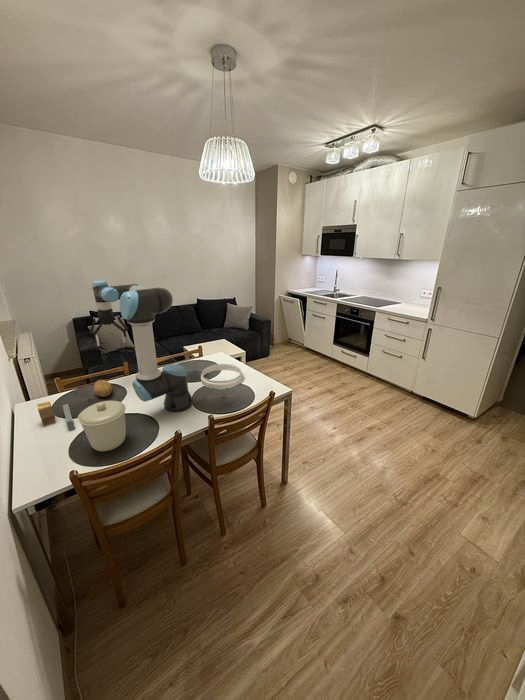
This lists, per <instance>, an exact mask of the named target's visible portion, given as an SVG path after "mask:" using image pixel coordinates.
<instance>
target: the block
mask: <svg viewBox="0 0 525 700" xmlns="http://www.w3.org/2000/svg"><path fill="white" fill-rule="evenodd" d="M36 406H37V411H38V414H39V418H40V420H41V422H42V423H41V424H42V425H43V427H47V426H49V425H53V424H56V423H57V421H56V416H55V413H54V410H53V407H52V404H51V401H45V402H42V403H37V404H36Z"/></svg>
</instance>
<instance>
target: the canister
mask: <svg viewBox="0 0 525 700" xmlns="http://www.w3.org/2000/svg"><path fill="white" fill-rule="evenodd" d="M126 409H127V407H126V405H125V403H123V402H121V401H118V400H104V401H100V402H99V401H98V402H96V403H93V404H91V405H89V406H88V407H86V408H84V409H83V410H82V411H81V412H80V413H79V414H78V416H77V422H78V423H79V424H80V425H81V426H82V429H83V431H84V433H85V436H86V438H87V440H88V442H89V444H90V446H91V447H92V448H93V449H94V450H95V451H98V452H107V451H108V452H109V451H112V450H115V449H116V448H118V447H120V446H121V445H122V444H123V443H124V441H125V439H126V434H127V429H126V411H127V410H126Z"/></svg>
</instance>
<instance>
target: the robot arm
mask: <svg viewBox="0 0 525 700" xmlns="http://www.w3.org/2000/svg"><path fill="white" fill-rule="evenodd" d="M91 286H92V290H93V295H94V296H93V297H94V300H95V305H96V309H97V316H98V317H93V318H92V325H91V327H90V330H89V333H88V334H89V335H90V336H93V340H94V341H96V344H97V347H99V346H100V341H99V336H98V334H97V333H99V331H100V330H101V328H102V327H103V326H108V325H113V326H115V327H116V328H117V329H119V330H120V331H121V337H122V341H123V344H125V343H126V340H125V338H126V337H127V333H126V332H128V331H129V328H128V326H127V325H126V324H125V322H124V321H123V320H122V319H121V317H122V318H123V319H124V320H126V322H127V323H128V324H129V325H131V331H132V337H133V343H134V350H135V356H136V362H137V369H138V372H137V373H135V374H136V375H135V380H133V381H132V383H131V384H132V388H133V390H134V392H135V394H136V396H137V398H138V399H139V400H141V402H143V403H144V402H149V401H151V400H152V401H153V400H154V399H157V398H159V397H162V396H164V395H165V396H164V402H163V407H164V410H165V411H167V412H168V413H170V412H171V413H181V412H183V411H187V410H188V409H190V408H191V407H192V406H193V402H194V401H193V397H192V395H191V394H190V391H189V386H188V385H189V384H188V373H187V368H186V367H185V366H184V365H180V364H177V363H176V364H167V365H164V366H163V367H162V371H161V370H160V369H158V361H157V354H156V353H157V352H156V345H155V337H154V336H155V335H154V331H153V330H154V329H153V323H154V322H155V320H156V315H159V314H163V313H165V312H167V311H168V310H169V309H171V307H172V305H173V301H174V300H173V298H174V297H173V294H172V293H171V292H170V291H169V290H168V289H166V288H163V287H153V288H152V287H147V286H143V285H142V284H141V283H131V284H125V285H124V284H121V285H111V286H110V285H109V284H108V282H107V280H94V281H92V282H91ZM117 301H119V305H118V306H119V311H120V315H117V316H116V315H114V310H113V305H112V303H114V302H117ZM115 320H117V321H118V323H120V324H121V325H120V324H118V323H117V322H116V321H115ZM98 322H100V323H99V325H98V326H97V327H96V328H95V326H96V323H98ZM94 328H95V330H94Z"/></svg>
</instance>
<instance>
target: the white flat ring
mask: <svg viewBox="0 0 525 700" xmlns="http://www.w3.org/2000/svg"><path fill="white" fill-rule="evenodd" d="M216 371H231V372H235V373H238V376H237V377H235V378H231V379H227V380H211V379H208V378H206V377H205V374H206V375H207V373H208V374H210V373H212V372H216ZM242 381H243V372H242V370H241V368H240V367H239V366H237V365H235V364H234V365H233V364H231V363H230V364H228V363H219V364H218V363H217V364H212V365H209V366H207V367H205V368H204V369H203V370H202V372H201V375H200V382H201V384H202V385H203V387H204V386H205V387H207V388H208V387H209V389H212V388H215V389H214V390H227V389H226V388H228V389H232V388H234V387H236V386H238V385H240V384H241V383H242Z"/></svg>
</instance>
